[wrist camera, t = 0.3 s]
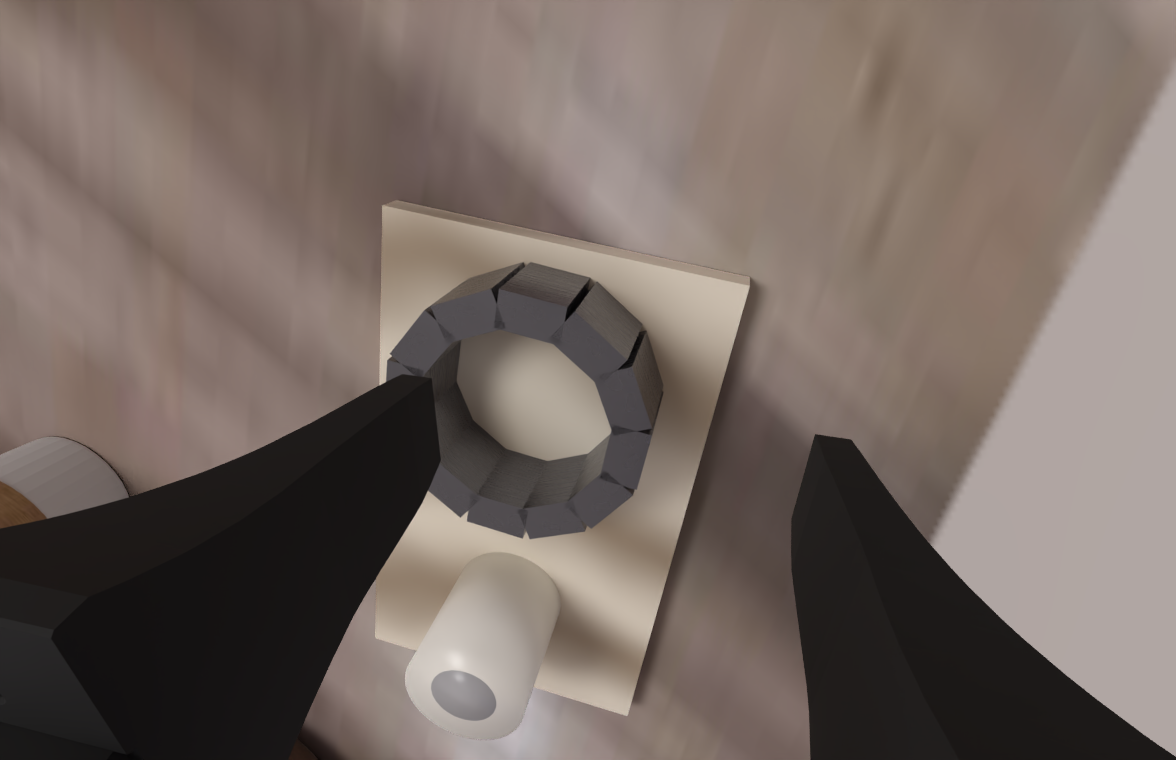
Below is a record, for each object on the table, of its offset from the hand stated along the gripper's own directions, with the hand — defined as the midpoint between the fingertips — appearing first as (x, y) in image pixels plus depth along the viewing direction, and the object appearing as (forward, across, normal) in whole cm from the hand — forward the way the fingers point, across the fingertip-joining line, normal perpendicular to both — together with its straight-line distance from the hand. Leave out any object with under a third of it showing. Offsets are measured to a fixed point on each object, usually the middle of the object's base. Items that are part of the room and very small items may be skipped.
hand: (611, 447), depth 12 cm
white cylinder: (+8, +5, +15) cm, 17 cm away
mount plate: (+9, +4, +10) cm, 14 cm away
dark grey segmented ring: (+9, +4, +5) cm, 11 cm away
